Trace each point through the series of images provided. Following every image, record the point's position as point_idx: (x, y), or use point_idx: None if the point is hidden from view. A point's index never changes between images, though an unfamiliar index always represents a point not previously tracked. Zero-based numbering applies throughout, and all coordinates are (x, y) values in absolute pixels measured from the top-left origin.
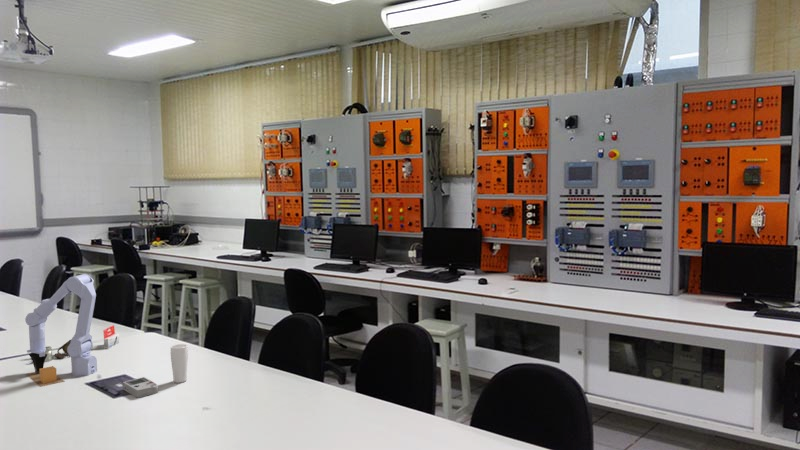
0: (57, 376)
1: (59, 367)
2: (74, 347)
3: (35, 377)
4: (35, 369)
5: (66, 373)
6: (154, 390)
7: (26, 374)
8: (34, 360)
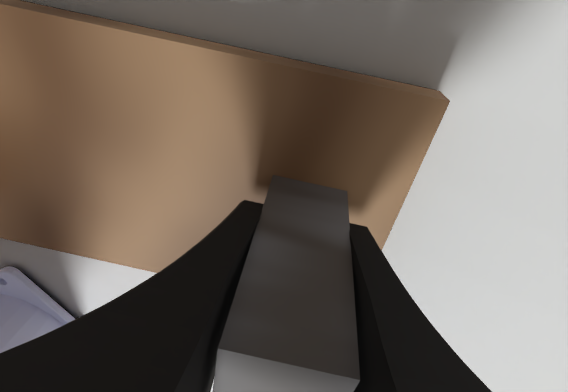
0: (4, 233)
1: None
2: None
3: (116, 92)
4: (316, 215)
5: None
6: None
7: (387, 90)
8: (88, 320)
